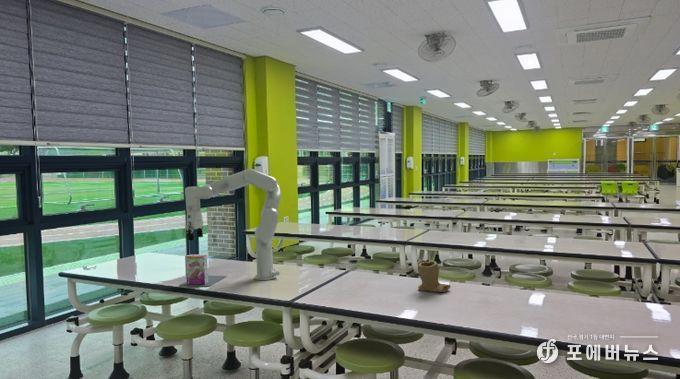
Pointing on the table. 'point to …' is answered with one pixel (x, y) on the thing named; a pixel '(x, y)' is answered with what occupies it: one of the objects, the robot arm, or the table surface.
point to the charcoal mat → (211, 281)
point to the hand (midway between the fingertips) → (195, 238)
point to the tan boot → (430, 277)
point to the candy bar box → (196, 269)
